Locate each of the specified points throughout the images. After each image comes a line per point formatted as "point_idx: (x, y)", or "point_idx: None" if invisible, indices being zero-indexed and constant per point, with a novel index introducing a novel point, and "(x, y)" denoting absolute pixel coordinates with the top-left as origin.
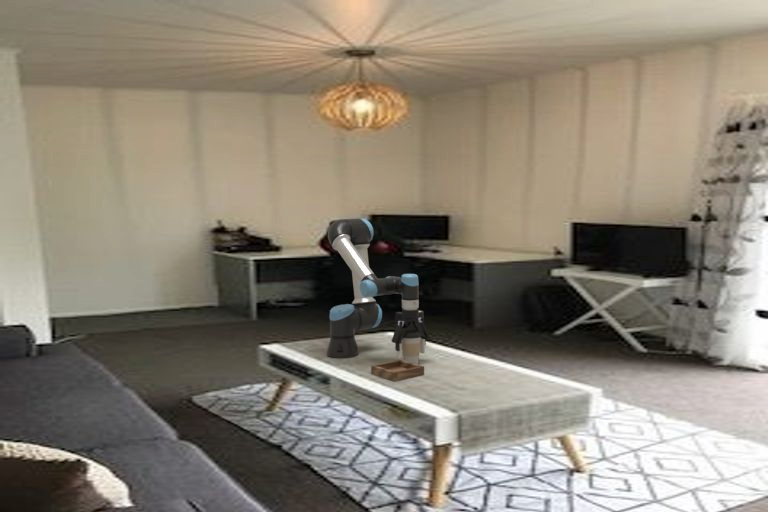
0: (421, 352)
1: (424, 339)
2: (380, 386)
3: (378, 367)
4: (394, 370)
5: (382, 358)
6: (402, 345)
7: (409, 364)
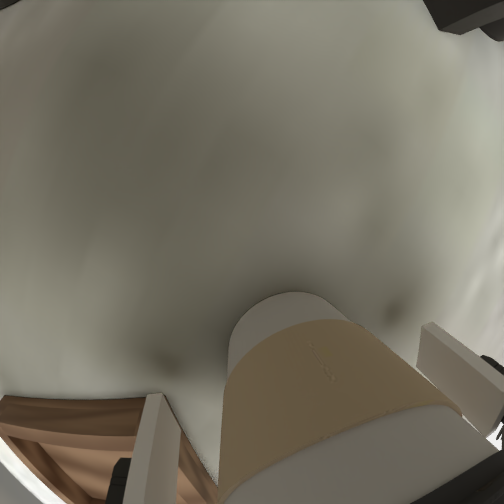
0: (422, 347)
1: (493, 431)
2: (47, 490)
3: (20, 457)
4: (101, 455)
5: (164, 62)
6: (218, 484)
7: (183, 495)
